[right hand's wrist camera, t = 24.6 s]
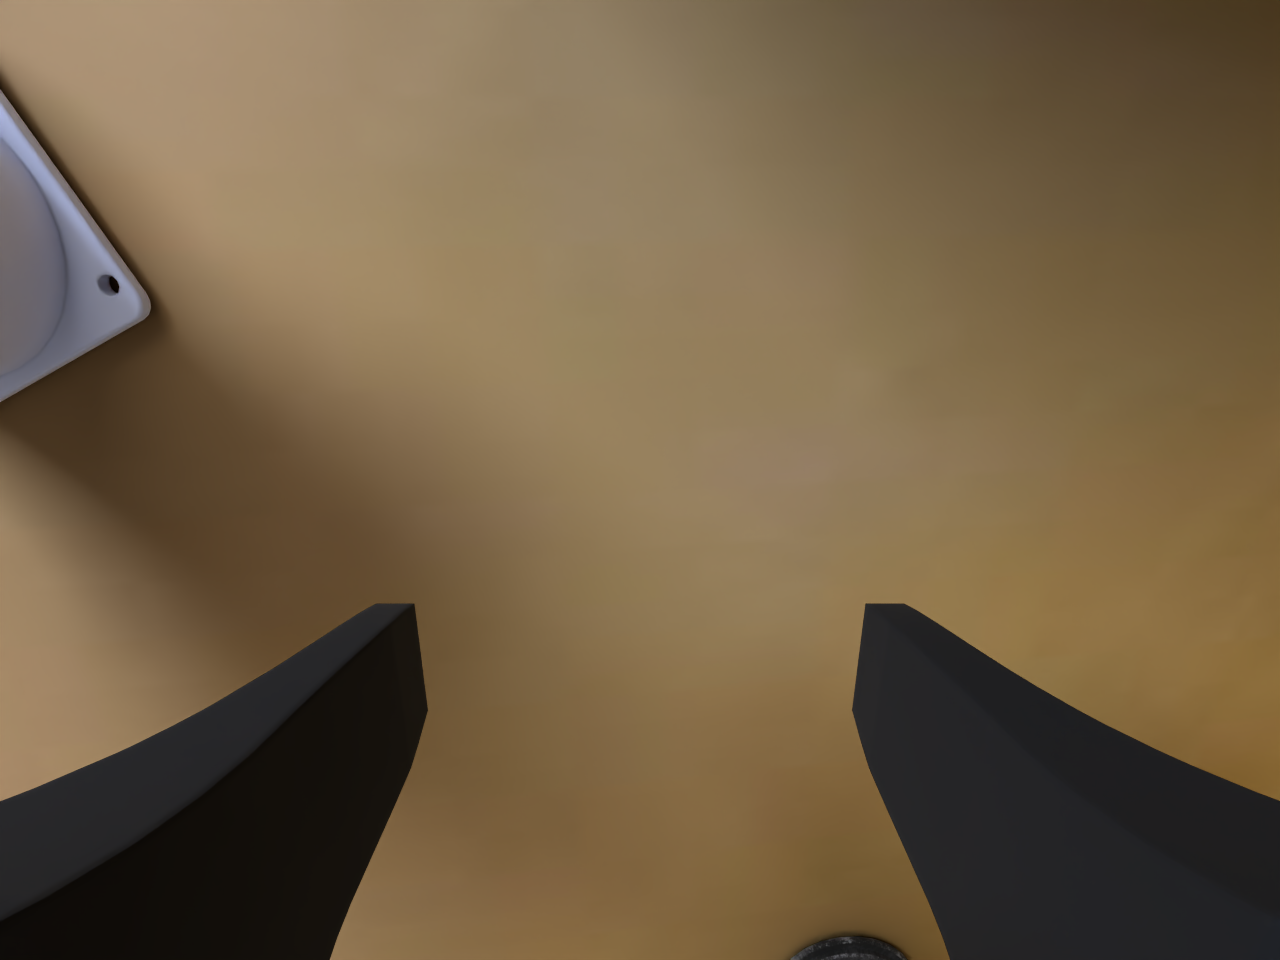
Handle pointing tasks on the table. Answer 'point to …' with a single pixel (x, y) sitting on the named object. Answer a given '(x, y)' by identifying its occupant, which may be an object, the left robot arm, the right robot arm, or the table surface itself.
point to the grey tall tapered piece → (850, 950)
